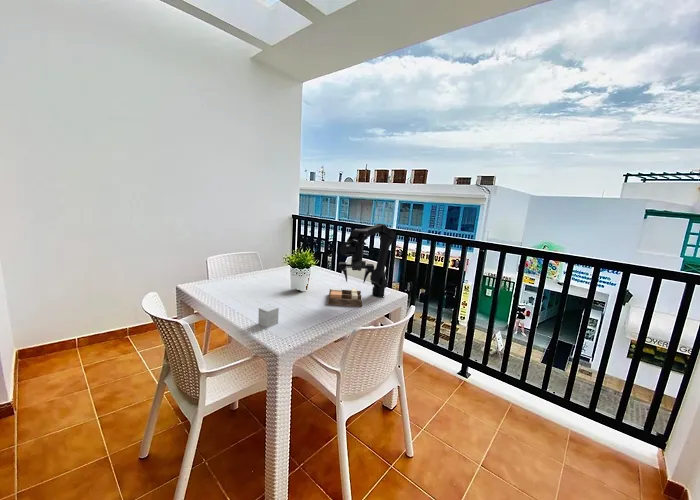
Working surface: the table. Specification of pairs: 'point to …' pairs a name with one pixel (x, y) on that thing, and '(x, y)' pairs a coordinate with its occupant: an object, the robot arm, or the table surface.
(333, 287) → the cream white block dumbbell
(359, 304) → the lane rack
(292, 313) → the table surface
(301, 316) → the table surface
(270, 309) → the product box
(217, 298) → the table surface
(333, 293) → the cream orange dumbbell block
